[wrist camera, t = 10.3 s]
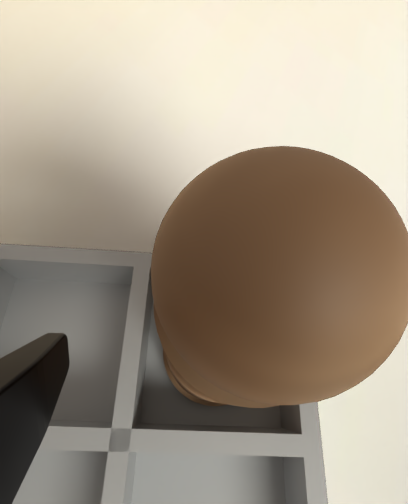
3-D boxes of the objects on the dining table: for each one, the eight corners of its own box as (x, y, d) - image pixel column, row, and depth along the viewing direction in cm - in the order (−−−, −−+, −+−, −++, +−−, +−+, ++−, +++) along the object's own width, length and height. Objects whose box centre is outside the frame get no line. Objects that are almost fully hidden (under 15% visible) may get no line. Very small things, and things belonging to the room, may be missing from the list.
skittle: (279, 366, 17) (613, 269, 4) (198, 428, 15) (300, 602, 2) (224, 288, 18) (329, 33, 6) (145, 337, 17) (37, 147, 4)
